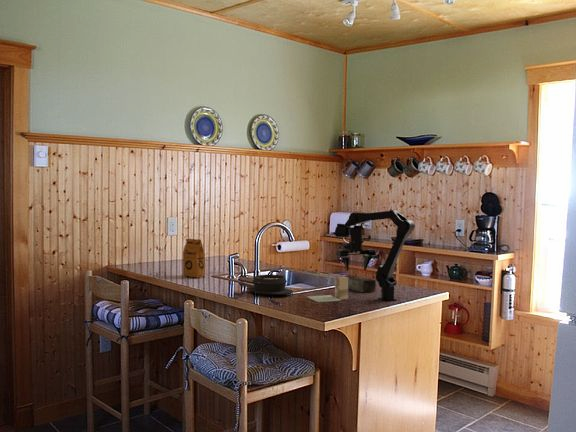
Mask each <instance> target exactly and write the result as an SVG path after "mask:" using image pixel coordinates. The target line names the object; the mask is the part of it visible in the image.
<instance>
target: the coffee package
mask: <svg viewBox="0 0 576 432" xmlns="http://www.w3.org/2000/svg"><path fill="white" fill-rule="evenodd" d="M205 254H206V253H205V250H204V247H203V242H202V240H201V239H194V238H185V244H184V248H183V251H182V277H187V276H190V277H189V278H192V277H202V276H205V277H206V256H205Z"/></svg>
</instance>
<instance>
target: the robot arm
mask: <svg viewBox="0 0 576 432" xmlns="http://www.w3.org/2000/svg"><path fill="white" fill-rule="evenodd" d="M389 219H390V221H391V222H392V223H393V224H394V225H395V226H396V236H395V239H394V242H393V244H392V245H391V248H390V251H389V252H388V255H387V257H386V260H385V262H384V263H383V264H381V265H378V268H377V270H376V272H375V273H374V274H375V280H376V283H378V286H379V288H380V297H378V299H379V300H381V301H384V302H388V301H389V302H390V301H397V300H398V299H397V298H396V297H395V286H397V283H398V282H397V280H396V279H395V277H394V271H395V270H394V267H395V264H396V262H397V260H398V258H399V256H400V254H401V252H402V249H403V246H404V245H405V242H406V240H407V239H408V238H409V237H410V235H412V233H413V231H414V230H415V227H416V225H415V223H414V221H413V220H411V219H408V218H407V217H405V216H404V215H403V214H401V213H400V212H399V211H397V210H396V209H389V210H386V211H377V212H362V211H356V212H355V211H353V212H351V213H350V214H349V216H348V218H347V220H346V221H345V223H337V224H336V227H335V230H334V235H335V237H336V238H346V239H348V238H350V239H348V243H347V242H342V243H341V249H337V250H336V253H335V256H337V257H339V258H341V260H342V262H343V265H344V267H345V270H346V272H348V271H349V265H350V257H349V256H354V255H355V256H356V255H358V256H359V255H362V256H363V271H367V267H368V265H369V264H370V263H371V260H372V258H375V257H374V256H377V250H376V249H374V248H373V249H372V248H364V249H363V243H364V240H363V230H367V226H366V225H365V224H364V223H367V222H371V221H379V220H389Z"/></svg>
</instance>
